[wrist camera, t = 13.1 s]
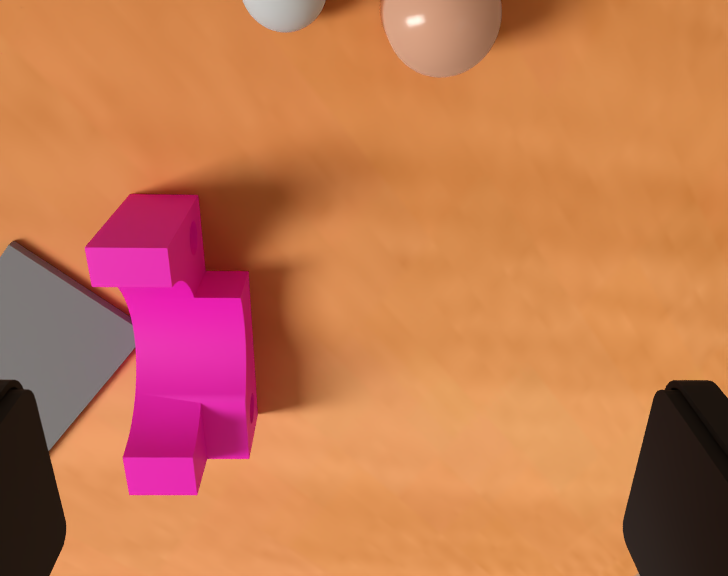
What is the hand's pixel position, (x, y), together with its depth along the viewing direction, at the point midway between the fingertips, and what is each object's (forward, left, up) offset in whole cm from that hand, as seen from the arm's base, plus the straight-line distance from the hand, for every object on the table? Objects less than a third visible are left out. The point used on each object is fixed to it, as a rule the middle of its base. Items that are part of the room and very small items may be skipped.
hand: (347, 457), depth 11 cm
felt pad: (+21, +18, -28) cm, 40 cm away
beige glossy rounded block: (-4, -4, -28) cm, 29 cm away
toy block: (+9, +13, -29) cm, 33 cm away
